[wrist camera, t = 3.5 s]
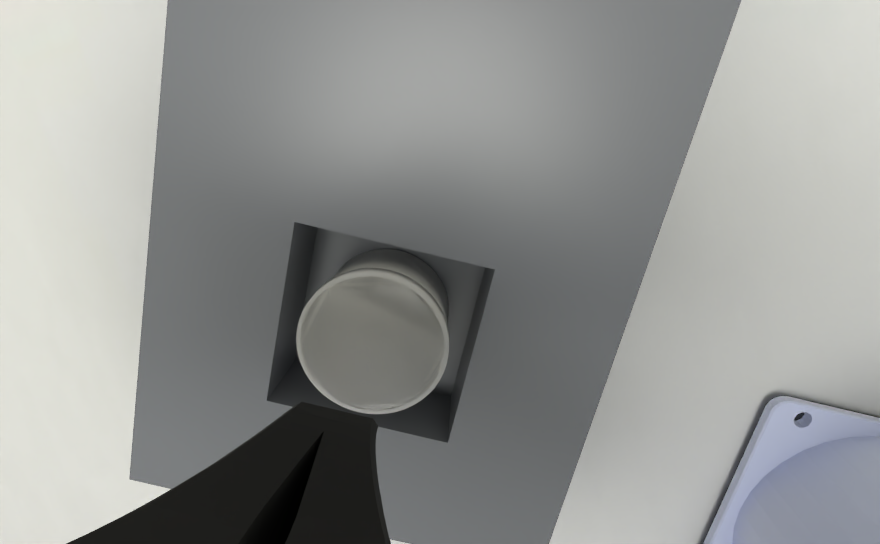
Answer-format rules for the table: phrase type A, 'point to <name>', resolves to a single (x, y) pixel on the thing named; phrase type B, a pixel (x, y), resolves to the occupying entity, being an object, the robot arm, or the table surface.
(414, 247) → the console
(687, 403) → the table surface
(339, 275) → the sample container
